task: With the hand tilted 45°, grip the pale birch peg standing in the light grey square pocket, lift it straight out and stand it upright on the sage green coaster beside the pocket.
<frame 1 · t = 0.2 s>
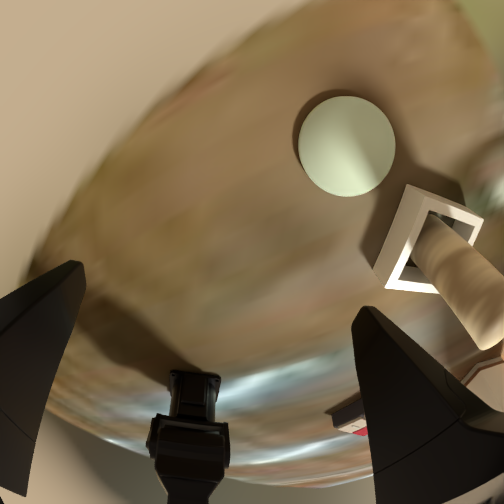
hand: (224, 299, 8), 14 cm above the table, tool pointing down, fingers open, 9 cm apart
tall white pillar: (475, 374, 44), on the table
peg: (459, 273, 19), in the pocket
coaster: (348, 146, 20), on the table
pocket: (423, 237, 24), on the table
calculator: (379, 399, 42), on the table
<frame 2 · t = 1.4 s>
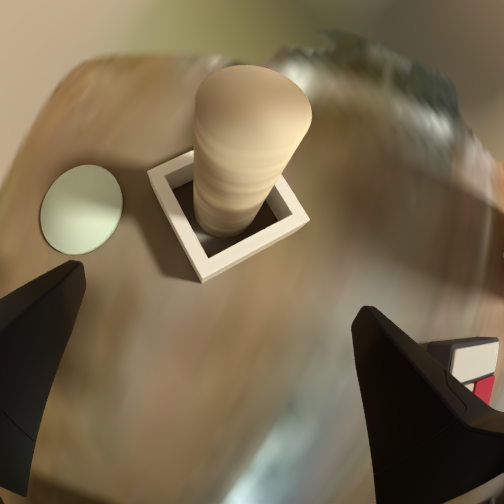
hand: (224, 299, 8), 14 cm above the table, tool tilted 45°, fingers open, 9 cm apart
peg: (234, 171, 17), in the pocket
coaster: (80, 209, 21), on the table
pocket: (224, 208, 23), on the table
calculator: (446, 400, 24), on the table
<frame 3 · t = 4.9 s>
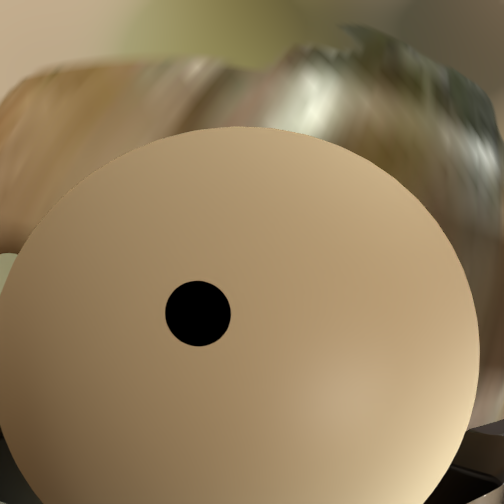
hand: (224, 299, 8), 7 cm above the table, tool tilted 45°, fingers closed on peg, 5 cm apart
peg: (218, 345, 8), in the pocket, touching gripper
coaster: (10, 320, 12), on the table
calculator: (463, 482, 15), on the table
when the fingers open (8 cm above the table, at t = 9.9 s): peg drops 1 cm, resting on coaster.
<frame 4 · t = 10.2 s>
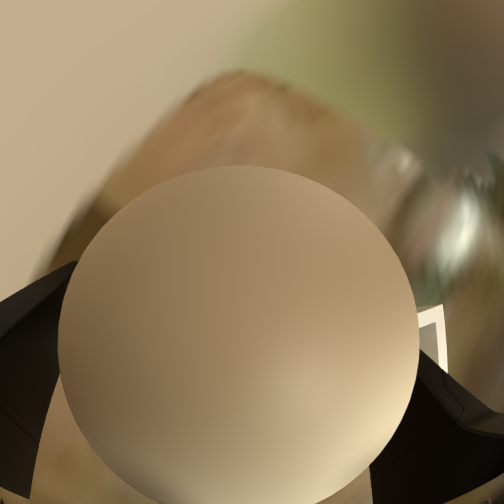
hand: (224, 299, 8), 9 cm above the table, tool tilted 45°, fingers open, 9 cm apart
peg: (217, 336, 9), on the coaster, point 7 cm above the table
pocket: (378, 379, 17), on the table
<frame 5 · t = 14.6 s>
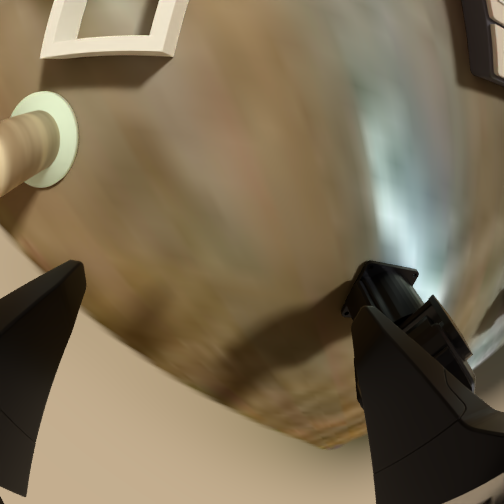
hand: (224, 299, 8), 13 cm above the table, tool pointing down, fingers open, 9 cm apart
coaster: (40, 139, 16), on the table
pocket: (127, 0, 12), on the table
calculator: (493, 19, 11), on the table
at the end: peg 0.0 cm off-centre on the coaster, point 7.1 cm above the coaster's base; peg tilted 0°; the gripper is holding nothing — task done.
